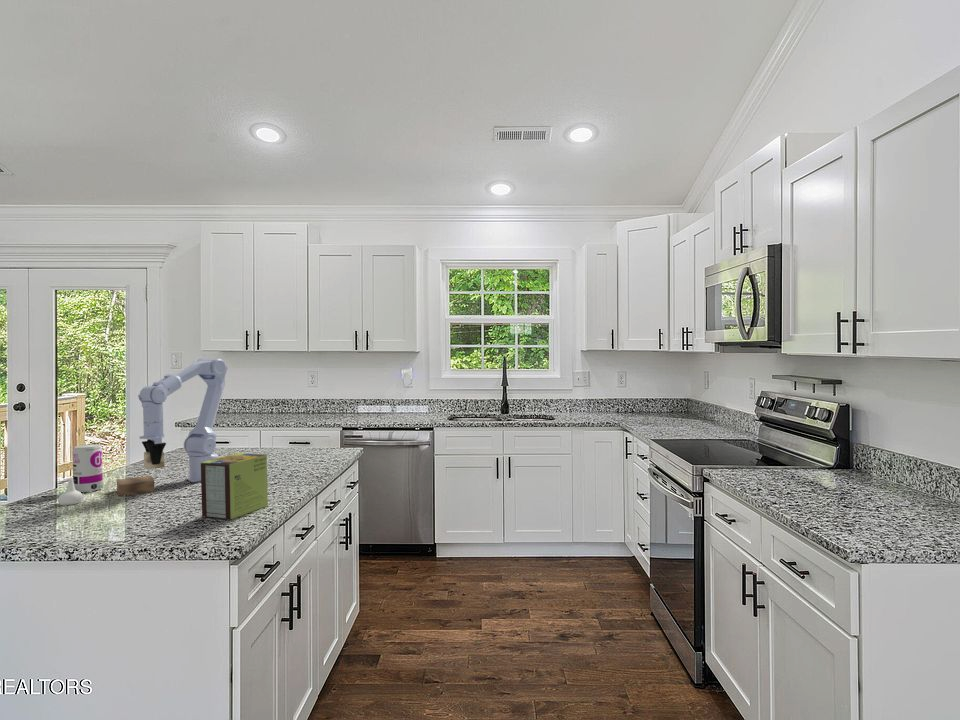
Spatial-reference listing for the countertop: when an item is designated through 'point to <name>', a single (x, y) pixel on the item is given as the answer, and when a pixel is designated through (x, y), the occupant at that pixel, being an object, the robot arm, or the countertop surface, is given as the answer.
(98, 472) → the supplement can
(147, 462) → the maple cube
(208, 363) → the robot arm
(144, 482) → the walnut block
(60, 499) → the garlic bulb
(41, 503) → the countertop surface
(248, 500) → the protein box
